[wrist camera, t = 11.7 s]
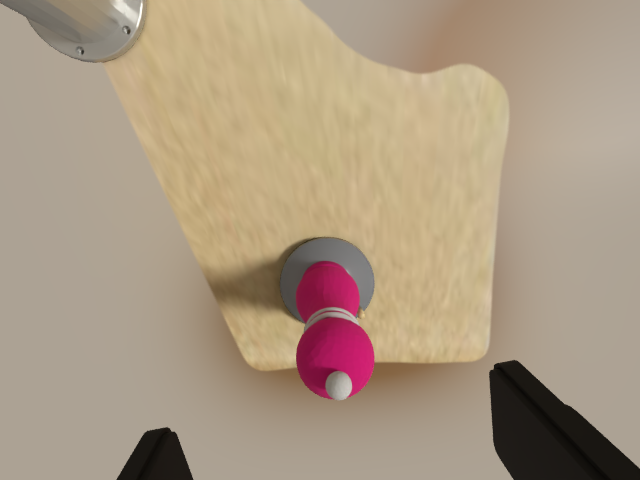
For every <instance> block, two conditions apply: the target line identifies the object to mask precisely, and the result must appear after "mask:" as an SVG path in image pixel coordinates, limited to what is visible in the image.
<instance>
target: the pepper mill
mask: <svg viewBox="0 0 640 480" xmlns="http://www.w3.org/2000/svg"><path fill="white" fill-rule="evenodd" d="M359 303H360V295H359V290H358V286H357V284H356V282H355V281H354V279H353V278H352V277H351V276H350V275H349V274H348V273H347V271H346V270H345V269H344V268H343V267H342V266H341V265H339V264H338V263H335V262H332V261H320V262H317V263H315V264H313V265H311V266H310V267H309V268H308V269H307V270H306V271H305V273H304V275H303V277H302V279H301V281H300V283H299V285H298V287H297V290H296V306H297V310H298V312H299V314H300V316H301V318H302V319H303V321H304V322H305V323H306V325H305V327H304V334H303V335H302V337H301V339H300V341H299V344H298V347H297V353H296V362H297V368H298V371H299V374H300V377H301V379H302V380H303V382H304V383H305V385H306V386H307V387H308V388H309V389H310V390H311V391H313V392H314V393H315V394H317V395H319V396H321V397H324V398H328V399H335V400H343V399H345V398H348V397H351V396H352V395H354V394H356V393H358V392H359V391H360V390H361V389H362V388H363V387H364V386H365V385H366V384H367V382H368V380H369V379H370V377H371V374H372V371H373V367H374V351H373V346H372V343H371V341H370V339H369V337H368V335H367V334H366V332H365V331H364V330H363V329H362V328H361V327H360V326H359V323H358V321H357V319H356V318H355V316H356V314H357V311H358V308H359Z"/></svg>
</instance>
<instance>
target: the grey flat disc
mask: <svg viewBox="0 0 640 480" xmlns="http://www.w3.org/2000/svg"><path fill="white" fill-rule="evenodd" d="M320 261H332V262H335V263H338V264H339V265H341V266H342V267H343V268H344V269H345V270H346V271H347V273H348V274H349V275H350V276H351V277H352V278H353V279H354V281H355V282H356V284H357V286H358V290H359V295H360V303H359V308H358V311H357V314H356V316H355V318H357V317H359V318H360V319H363V318H364V317H365V315H364V310H365V309H366V308H367V306H368V305H369V303H370V301H371V298H372V295H373V292H374V274H373V271H372V268H371V265H370V263H369V262H368V260H367V258H366V257H365V255H364V254H363V253H362V252H361V251H360V250H359V249H358V248H357V247H356V246H354V245H353V244H351V243H349V242H348V241H345V240H342V239H339V238H334V237H321V238H315V239H312V240H309V241H307V242H305V243H303V244H302V245H300V246H299V247H297V248H296V249H295V250H294V251H293V252H292V253H291V254H290V256H289V257H288V259H287V260H286V262H285V264H284V267H283V270H282V273H281V278H280V291H281V296H282V299H283V301H284V303H285V305H286V307H287V308H288V310H289V311H290V312H291V313H292V314H293V315H294V316H295V317H296V318H297V319H298V320H300V321H302V322H303V323H305V322H304V321H303V319H302V318H301V316H300V314H299V312H298V310H297V306H296V290H297V287H298V285H299V283H300V281H301V279H302V277H303V275H304V273H305V271H306V270H307V269H308V268H309V267H310V266H311V265H313V264H315V263H317V262H320ZM305 324H306V323H305Z"/></svg>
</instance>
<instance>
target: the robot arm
mask: <svg viewBox="0 0 640 480" xmlns="http://www.w3.org/2000/svg"><path fill="white" fill-rule="evenodd" d="M0 3H1V4H3V5H5V6H7V7H9V8H10V9H12V10H14V11H16V12H18V13H20V14H22V15H23V16H25V17H26V18H27V19H28V21H29V23H30V24H31V26H32V27H33V29H34V30H35V31H36V32H37V34H38V35H39V36H40V37H41V38H42V39H43V40H44V41H45V42H47V43H48V44H49V45H50V46H51V47H53V48H55V49H56V50H58V51H59V52H61V53H63V54H65V55H68V56H70V57H71V58H75V59H78V60H81V61H85V62H95V63H96V62H106V61H109V60H112V59H115V58H117V57H119V56H121V55H122V54H124V53H125V52H127V51H128V50H129V49H130V48H131V47H132V46H133V45H134V43H135V42H136V40H137V39H138V37H139V36H140V33H141V31H142V29H143V26H144V22H145V17H146V0H0ZM129 32H130V34H129ZM489 375H490V376H489V378H490V393H491V410H492V426H493V442H494V446H495V450H496V452H497V454H498V456H499V458H500V459H501V461H502V463H503V464H504V466H505V467H506V469H507V470H508V472H509V473H510V475H511V476H512V478H513V479H514V480H640V469H639V468H638V467H637V466H636V465H635V464H634V463H633V462H632V461H631V460H630V459H629V458H628V457H626V456H625V455H624V454H623V453H622V452H621V451H620V450H619V449H618V448H616V447H615V446H614V445H613V444H612V443H611V442H610V441H609V440H608V439H607V438H606V437H604V436H603V435H602V434H601V433H600V432H599V431H598V430H596V428H595V427H593V426H592V425H591V424H590V423H589V422H588V421H587V420H586V419H585V418H583V416H581V415H580V414H579V413H578V412H577V411H576V410H574V409H573V408H572V407H570V406H568V405H565V404H564V403H563V402H562V401H560V400H559V399H558V398H557V397H556V396H555V395H554V394H553V393H552V392H551V391H550V390H548V388H546V387H545V386H544V385H543V384H542V383H541V382H540V381H539V380H538V379H537V378H536V377H534V376H533V375H532V374H531V373H530V372H529V371H528V370H527V369H526V368H525V367H524V366H523V365H522V364H521V363H519V362H518V361H515V360H512V361H507V362H502V363H497V364H495V365H494V370H491V371H490V372H489ZM117 480H193V478H192V475H191V472H190V469H189V466H188V464H187V461H186V458H185V455H184V453H183V450H182V448H181V445H180V442H179V439H178V437H177V434H176V433H175V432H171V430H170V429H169V428H167V427H166V428H160V429H155V430H150V431H147V432H145V433H144V435H143V436H142V438H141V440H140V441H139V443H138V444H137V446H136V448H135V449H134V451H133V453H132V455H131V456H130V458H129V459H128V461H127V463H126V465H125V466H124V468H123V470H122V471H121V473H120V475H119V476H118V478H117Z"/></svg>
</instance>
